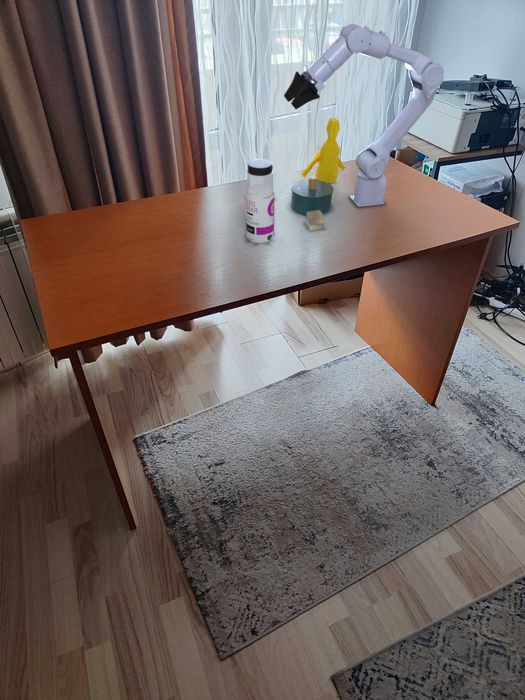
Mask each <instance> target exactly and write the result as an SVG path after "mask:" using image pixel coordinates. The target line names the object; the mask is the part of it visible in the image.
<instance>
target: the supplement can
mask: <svg viewBox="0 0 525 700" xmlns="http://www.w3.org/2000/svg"><path fill="white" fill-rule="evenodd" d="M275 195H276V194H275V192H274V189H273V190H272V187H270V186H268V185H264V184H256V185H252V186H250V187H249V188H248V190H246V192H245V225H246V226H245V229H246V235H245V236H246V238H247V239H248V240H249V241H250V242H251V243H254V244H258V245H259V244H261V245H262V244H266V243H269V242H270V241H272V240H273V239H274V237H275V201H276V197H275Z"/></svg>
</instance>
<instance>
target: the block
mask: <svg viewBox="0 0 525 700" xmlns="http://www.w3.org/2000/svg"><path fill="white" fill-rule="evenodd" d="M305 219H306V220H305V225H306V227H307V228H308V230H309V231H317V230H323V229H324V222H325V221H324V220H325V215H324V214H322V213H321V211H320V210H317V211H308V212H307V216H306V218H305Z"/></svg>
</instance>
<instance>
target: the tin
mask: <svg viewBox="0 0 525 700" xmlns="http://www.w3.org/2000/svg"><path fill="white" fill-rule="evenodd" d="M332 199H333V193H332V194H331V195H330V196H327V197H324V198H319V199H309V198H303V197H300V196H297V195H295V194H294V193H293V192H292V191H291V209H292V211H293V212H295V213H297V214H299V215H301V216H306V217H307V212H308V211H317V210H320V211H321V213H322V214H323V215H325V214H327V213H329V211H331V208H332V207H331V206H332Z"/></svg>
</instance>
